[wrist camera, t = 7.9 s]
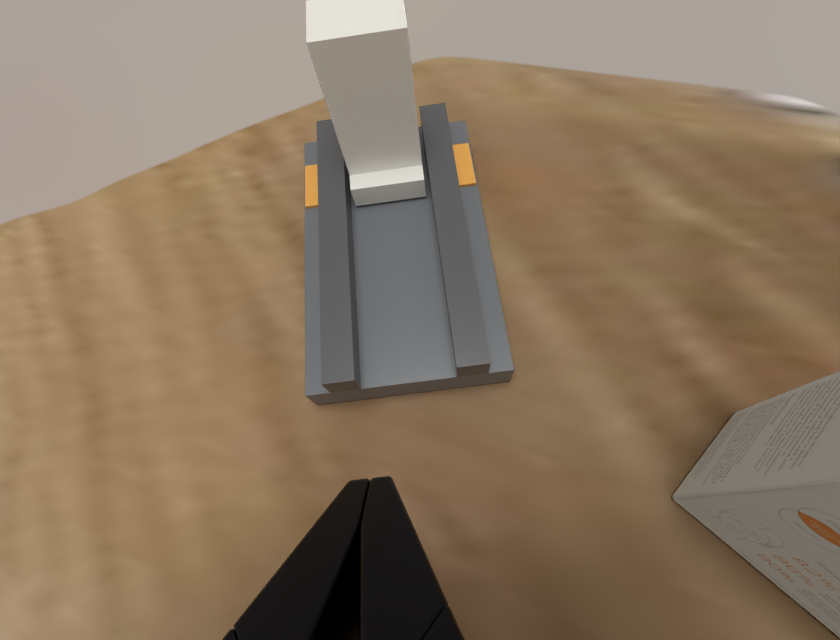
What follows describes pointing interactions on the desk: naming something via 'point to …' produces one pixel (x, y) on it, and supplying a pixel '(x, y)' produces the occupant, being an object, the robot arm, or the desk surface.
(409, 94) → the switch tab
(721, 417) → the desk surface
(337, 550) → the robot arm
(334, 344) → the switch base
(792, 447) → the small box
